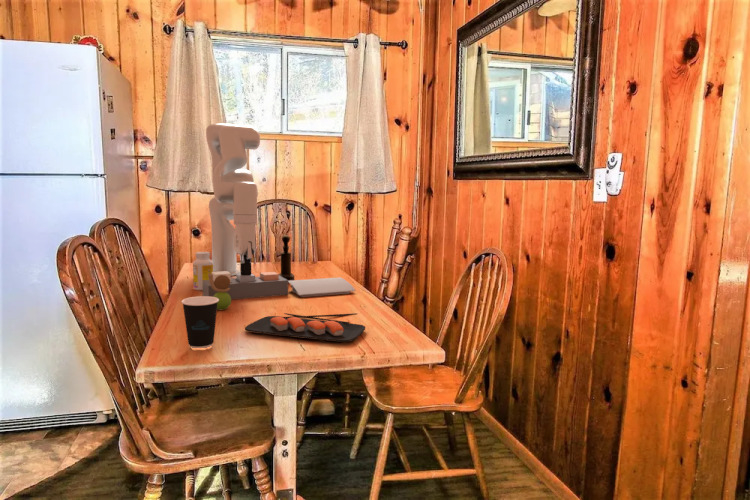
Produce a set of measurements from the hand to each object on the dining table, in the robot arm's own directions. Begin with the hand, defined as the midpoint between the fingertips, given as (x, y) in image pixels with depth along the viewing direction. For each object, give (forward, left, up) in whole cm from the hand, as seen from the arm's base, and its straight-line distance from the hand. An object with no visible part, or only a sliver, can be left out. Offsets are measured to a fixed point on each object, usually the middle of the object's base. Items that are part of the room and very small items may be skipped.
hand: (245, 274), depth 168 cm
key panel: (0, 0, -7) cm, 7 cm away
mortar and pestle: (-18, +20, -7) cm, 28 cm away
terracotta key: (0, +8, -4) cm, 9 cm away
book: (+4, +25, -8) cm, 26 cm away
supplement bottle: (-15, -11, -7) cm, 20 cm away
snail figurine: (+17, -12, -7) cm, 22 cm away
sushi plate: (+43, +8, -8) cm, 44 cm away
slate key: (0, 0, -4) cm, 4 cm away
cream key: (0, -8, -3) cm, 9 cm away
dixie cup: (+50, -23, -7) cm, 55 cm away
